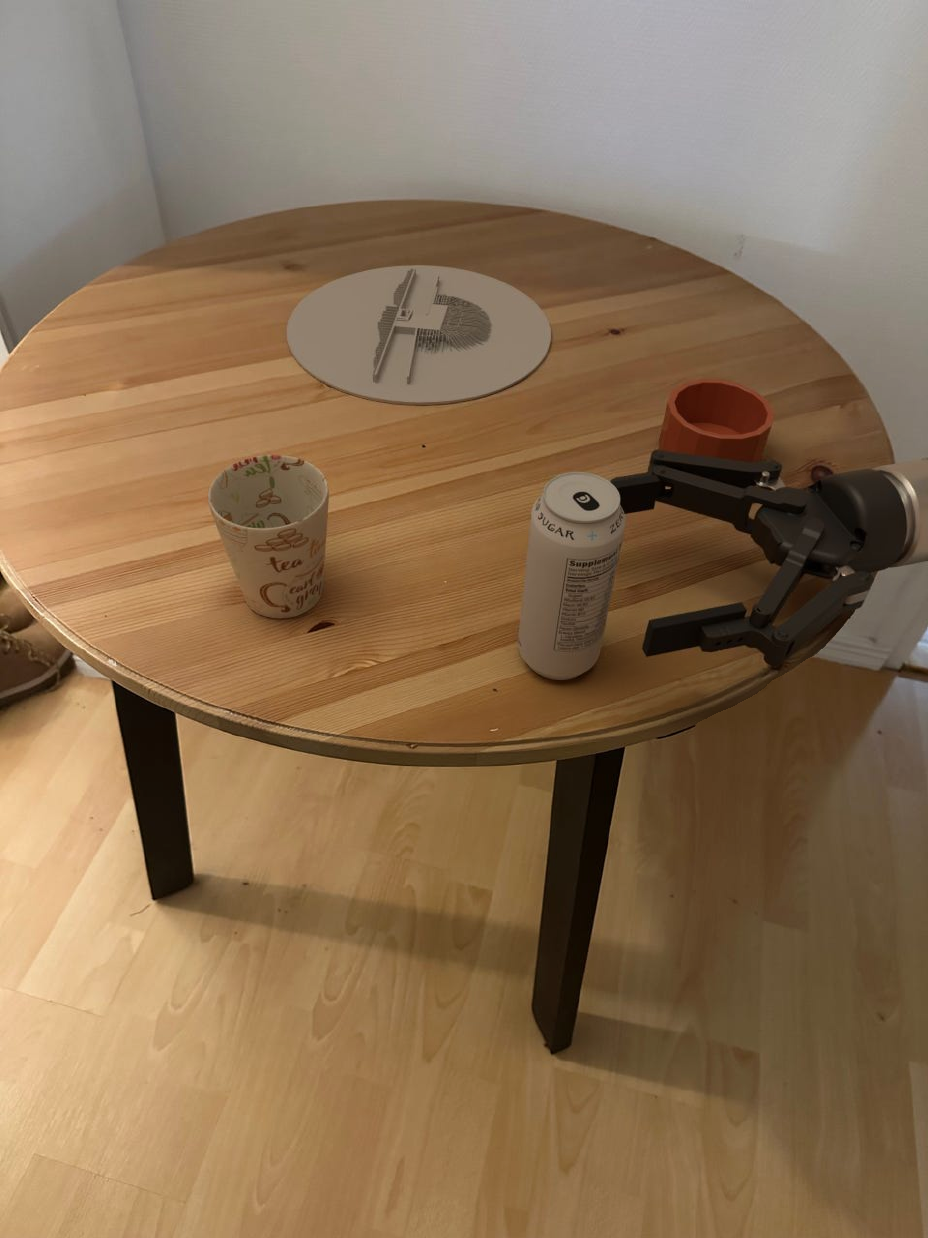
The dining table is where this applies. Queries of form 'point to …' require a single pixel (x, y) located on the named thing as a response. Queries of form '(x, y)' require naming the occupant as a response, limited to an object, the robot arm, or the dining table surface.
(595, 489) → the energy drink can
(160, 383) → the dining table surface
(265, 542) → the mug
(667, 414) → the holder
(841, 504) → the robot arm
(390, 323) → the plate
